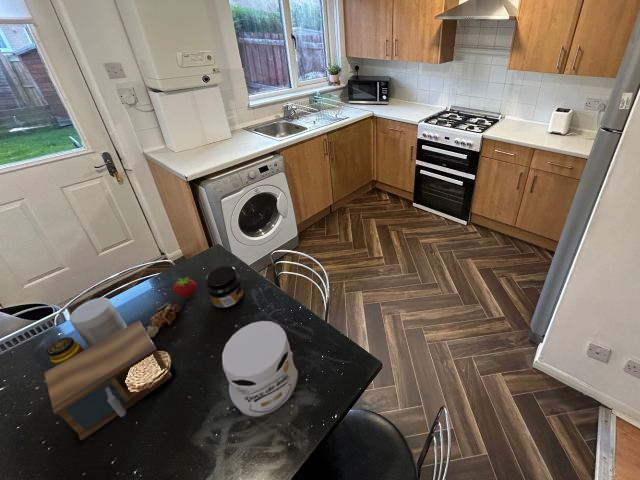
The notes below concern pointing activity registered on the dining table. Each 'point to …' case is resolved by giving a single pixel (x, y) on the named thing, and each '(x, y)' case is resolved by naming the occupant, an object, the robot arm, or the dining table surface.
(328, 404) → the dining table surface
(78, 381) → the cabinet
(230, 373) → the doce de leite tub
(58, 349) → the condiment
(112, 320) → the supplement tub
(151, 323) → the pastry
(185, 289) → the strawberry
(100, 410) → the glass door
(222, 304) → the supplement container
